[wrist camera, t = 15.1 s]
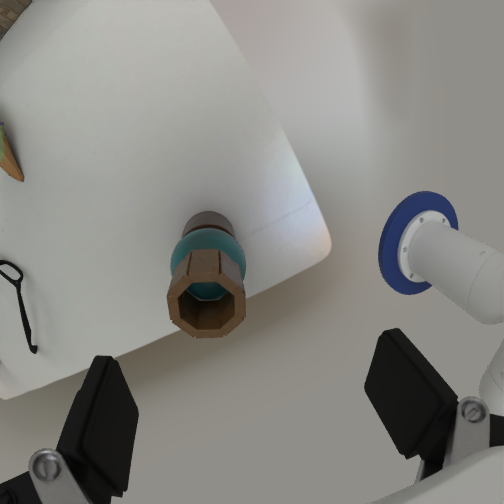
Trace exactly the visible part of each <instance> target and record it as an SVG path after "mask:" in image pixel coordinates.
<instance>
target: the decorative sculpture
mask: <svg viewBox="0 0 504 504" xmlns="http://www.w3.org/2000/svg"><path fill="white" fill-rule="evenodd" d="M3 124H4V123H3V122H1V121H0V167H1V168H2V169H3V170H4V171H5V172H6V173H7V174H8V175H9V176H11V177H13V178H14V179H16V180H18V181H21V182H23V180H24V176H23V175H22V173H21V171H20V169H19V168H18V166H17V163H16V161H15V159H14V156H13V154H12V151H11V149H10V146H9V144H8V142H7V139H6V137H5V135H6V134H5V133H4V129H3V126H2V125H3Z"/></svg>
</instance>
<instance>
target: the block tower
mask: <svg viewBox="0 0 504 504" xmlns="http://www.w3.org/2000/svg"><path fill="white" fill-rule="evenodd" d="M31 1H32V0H0V40H1V38H2V36H3V35H4V34H5V33H6V31H7V29H9V28H10V26H11V25H12V24H13V22H14V21H15V20H16V19H17V18H18V17H19V15H20V14H21V13H22V12H23V11H24V10H25V8H26V7H27V6H28V5H29V4H30V2H31Z"/></svg>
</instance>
